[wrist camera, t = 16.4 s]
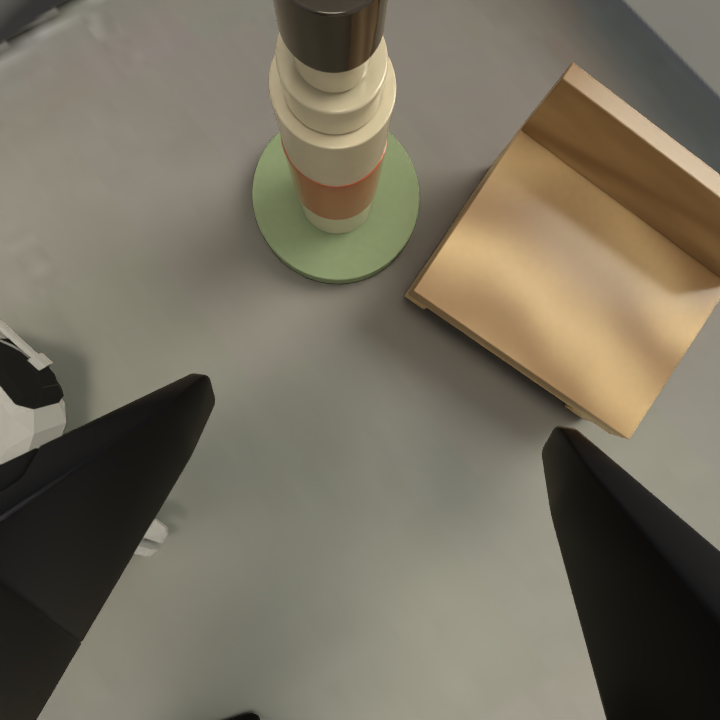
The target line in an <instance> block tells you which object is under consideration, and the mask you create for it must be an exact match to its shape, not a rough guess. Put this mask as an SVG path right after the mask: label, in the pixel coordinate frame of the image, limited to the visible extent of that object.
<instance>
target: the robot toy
mask: <svg viewBox="0 0 720 720" xmlns="http://www.w3.org/2000/svg"><path fill="white" fill-rule="evenodd" d="M0 331H1V332H2V333H3V334H4V335H5V336H7V337H8V338H6V337H4V336H2V335H0V464H3V463H5V462H7V461H9V460H11V459H13V458H16V457H18V456H20V455H22V454H24V453H26V452H28V451H30V450H32V449H34V448H39V447H40V446H41V445H43V444H45V443H47V442H49V441H51V440H53V439H56V438H58V437H60V436H62V433H63V431H64V428H65V425H66V413H65V402H64V401H63V399H62V398H63V396H64V395H63V391H62V388H61V386H60V385H59V383H58V381H57V379H56V377H55V374H54V373H53V372H52V371H51V369H50V368H49V367H48V366H49V365H50V364H52V363H53V362H52V361H51V360H50V359H48V358H47V357H46V356H45V355H44V354H43V353H40V354H38V353H37V352H36V351H35V350H34V349H32V348H31V347H30V346H29V345H28V344H27V343H26V342H25V341H23V340H22V339H21V338H20V337H19V336H18V335H17V334H16V333H15V332H14V331H13V330H11V329H10V328H9V327H8V326H7V325H6V324H5V323H4V322H3V321H2V320H0ZM167 535H168V528H167V526H165V525H164V524H163V523H162V522H161V521H160V520H158V519H154V520H153V522H152V524H151V525H150V527H149V529H148V530H147V532H146V534H145V535H144V537H143V539H142V541H141V542H140V544H139V546H138V547H137V549H136V551H135V552H134V554H137V555H142V556H147V557H148V556H151V555H153V554H155V553H156V552H157V551H158V550H159V548H160V547H161V545H162V542H163V541H164V540H165V538H166V537H167Z"/></svg>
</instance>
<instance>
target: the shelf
mask: <svg viewBox="0 0 720 720" xmlns="http://www.w3.org/2000/svg"><path fill="white" fill-rule="evenodd" d="M405 297H406V298H408V299H409V300H411V301H412V302H413V303H415V304H416V305H418V306H419V307H421V308H422V309H426V308H428V309H429V310H431V311H432V312H434V313H435V314H437V315H438V316H440V317H441V318H443V319H444V320H445V321H447V322H448V323H450V324H451V325H453V326H454V327H456V328H457V329H459V330H460V331H461V332H463V333H464V334H466V335H467V336H469V337H470V338H472V339H473V340H474V341H476V342H477V343H479V344H480V345H482V346H483V347H485V348H486V349H488V350H489V351H490V352H492V353H493V354H495V355H496V356H498V357H499V358H501V359H502V360H503V361H505V362H506V363H508V364H509V365H511V366H512V367H514V368H515V369H517V370H518V371H519V372H521V373H522V374H524V375H525V376H527V377H528V378H530V379H531V380H533V381H534V382H535V383H537V384H538V385H540V386H541V387H543V388H544V389H546V390H547V391H548V392H550V393H551V394H553V395H554V396H556V397H557V398H559V399H560V400H562V401H563V402H564V403H566V405H565V407H566V408H567V409H569V410H570V411H572V412H573V413H575V414H576V415H577V416H579V417H580V418H582V419H585V420H588V421H592V422H593V423H595V424H596V425H598V426H599V427H601V428H602V429H604V430H605V431H607V432H608V433H609V434H612V435H616V436H619V437H622V438H626V439H630V437H631V435H632V434H633V432H634V431H635V429H636V428H637V426H638V425H639V423H640V422H641V420H642V419H643V417H644V415H645V414H646V412H647V411H648V409H649V408H650V406H651V405H652V403H653V402H654V400H655V399H656V397H657V395H658V394H659V392H660V391H661V389H662V388H663V386H664V385H665V383H666V382H667V380H668V379H669V377H670V375H671V374H672V372H673V371H674V369H675V368H676V366H677V365H678V363H679V362H680V360H681V359H682V357H683V355H684V354H685V352H686V351H687V349H688V348H689V346H690V345H691V343H692V342H693V340H694V339H695V337H696V335H697V334H698V332H699V331H700V329H701V328H702V326H703V325H704V323H705V322H706V320H707V319H708V317H709V315H710V314H711V312H712V311H713V309H714V308H715V306H716V305H717V303H718V302H719V300H720V174H718V173H717V172H716V171H715V170H713V169H712V168H711V167H709V166H708V165H707V164H705V163H704V162H703V161H702V160H700V159H699V158H698V157H696V156H695V155H694V154H692V153H691V152H690V151H688V150H687V149H686V148H685V147H683V146H682V145H681V144H679V143H678V142H677V141H675V140H674V139H673V138H671V137H670V136H669V135H668V134H666V133H665V132H664V131H662V130H661V129H660V128H658V127H657V126H656V125H654V124H653V123H652V122H651V121H649V120H648V119H647V118H645V117H644V116H643V115H641V114H640V113H639V112H637V111H636V110H635V109H634V108H632V107H631V106H630V105H628V104H627V103H626V102H624V101H623V100H622V99H620V98H619V97H618V96H617V95H615V94H614V93H613V92H611V91H610V90H609V89H607V88H606V87H605V86H603V85H602V84H601V83H600V82H598V81H597V80H596V79H594V78H593V77H592V76H590V75H589V74H588V73H586V72H585V71H584V70H583V69H581V68H580V67H579V66H577V65H576V64H575V63H572V64H571V65H570V66H569V67H568V69H567V70H566V71H565V72H564V74H563V75H562V76H561V77H560V79H559V80H558V81H557V82H556V84H555V85H554V86H553V87H552V89H551V90H550V91H549V92H548V94H547V95H546V96H545V97H544V99H543V100H542V101H541V102H540V104H539V105H538V106H537V108H536V109H535V110H534V111H533V113H532V114H531V115H530V116H529V118H528V119H527V120H526V121H525V123H524V124H523V125H522V126H521V128H520V129H519V130H518V131H517V133H516V134H515V136H514V137H513V139H512V140H511V141H510V143H509V144H508V145H507V146H506V148H505V149H504V150H503V151H502V153H501V154H500V155H499V156H498V158H497V159H496V160H495V161H494V163H493V164H492V165H491V167H490V168H489V170H488V171H487V173H486V174H485V176H484V177H483V179H482V180H481V182H480V183H479V185H478V186H477V188H476V189H475V191H474V192H473V194H472V195H471V197H470V198H469V200H468V201H467V203H466V204H465V206H464V207H463V209H462V210H461V212H460V213H459V215H458V216H457V218H456V219H455V221H454V222H453V224H452V225H451V227H450V228H449V230H448V231H447V233H446V234H445V235H444V237H443V238H442V240H441V241H440V243H439V244H438V246H437V247H436V249H435V250H434V252H433V253H432V255H431V256H430V258H429V259H428V261H427V262H426V264H425V265H424V267H423V268H422V270H421V271H420V273H419V274H418V276H417V277H416V279H415V280H414V282H413V283H412V285H411V286H410V288H409V289H408V291H407V292H406V294H405Z"/></svg>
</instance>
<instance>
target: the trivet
mask: <svg viewBox="0 0 720 720" xmlns="http://www.w3.org/2000/svg"><path fill="white" fill-rule="evenodd" d="M419 199H420V197H419V186H418V180H417V176H416V173H415V170H414V167H413V164H412V162H411V160H410V158H409V156H408V155H407V153H406V151H405V150H404V148H403V147H402V146H401V144H400V143H399V142H398V141H397V140H396V138H395V137H394V136H392V135H391V134H390V133H389V132H388V141H387V147H386V152H385V156H384V161H383V165H382V170H381V175H380V179H379V184H378V188H377V191H376V194H375V197H374V202H373V206H372V210H371V212H370V214H369V216H368V218H367V219H366V220H365V222H364V223H363V224H362V225H360V226H359V227H358V228H356V229H355V230H352V231H350V232H347V233H342V234H332V233H327V232H324V231H322V230H320V229H318V228H316V227H315V226H313V225H312V224H311V223H310V222H309V221H308V220H307V218H306V217H305V215H304V214H303V212H302V210H301V207H300V203H299V200H298V196H297V194H296V192H295V189H294V186H293V182H292V179H291V175H290V171H289V168H288V164H287V161H286V157H285V154H284V150H283V147H282V142H281V135H280V132H279V133H278V134H277V135H276V136H275V137H274V138H273V139H272V140H271V141H270V142H269V144H268V145H267V147H266V148H265V150H264V151H263V153H262V155H261V157H260V159H259V161H258V164H257V167H256V170H255V174H254V179H253V186H252V201H253V209H254V213H255V218H256V220H257V223H258V226H259V229H260V231H261V233H262V235H263V237H264V238H265V240H266V241H267V243H268V244H269V246H270V247H271V249H272V250H273V252H274V253H275V254H276V255H277V256H278V257H279V258H280V260H282V261H283V262H284V263H285V264H286V265H287V266H288V267H290V268H291V269H293V270H294V271H296V272H297V273H299V274H301V275H303V276H305V277H307V278H310V279H313V280H316V281H320V282H325V283H335V284H341V283H351V282H356V281H360V280H363V279H366V278H369V277H371V276H373V275H375V274H377V273H378V272H380V271H381V270H383V269H384V268H386V267H387V266H388V265H389V264H390V263H392V262H393V261H394V260H395V258H396V257H397V256H398V255H399V254H400V253H401V251H402V250H403V248H404V247H405V245H406V243H407V242H408V240H409V238H410V236H411V234H412V232H413V230H414V227H415V224H416V221H417V216H418V211H419Z"/></svg>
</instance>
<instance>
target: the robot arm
mask: <svg viewBox="0 0 720 720" xmlns="http://www.w3.org/2000/svg"><path fill="white" fill-rule="evenodd" d="M214 404H215V397H214V393H213V389H212V385H211V381H210V378H209V377H208V376H206V375H202V374H190V375H188V376H186V377H184V378H181V379H179V380H177V381H175V382H173V383H171V384H169V385H167V386H165V387H163V388H160V389H158V390H156V391H154V392H152V393H150V394H148V395H146V396H144V397H142V398H140V399H137V400H135V401H133V402H131V403H129V404H127V405H125V406H123V407H121V408H119V409H116V410H114V411H112V412H110V413H108V414H106V415H104V416H102V417H100V418H98V419H95V420H93V421H91V422H89V423H87V424H85V425H83V426H81V427H79V428H77V429H74V430H72V431H70V432H68V433H66V434H64V435H62V436H60V437H58V438H56V439H53V440H51V441H49V442H47V443H45V444H43V445H41V446H40V447H39V448H34V449H32V450H30V451H28V452H26V453H24V454H22V455H20V456H18V457H16V458H13V459H11V460H9V461H7V462H5V463H3V464H0V720H36V719H37V718H38V716H39V714H40V713H41V711H42V709H43V707H44V706H45V704H46V702H47V701H48V699H49V697H50V696H51V694H52V692H53V691H54V689H55V687H56V685H57V684H58V682H59V680H60V679H61V677H62V675H63V674H64V672H65V670H66V668H67V667H68V665H69V663H70V662H71V660H72V658H73V657H74V655H75V653H76V651H77V650H78V648H79V646H80V645H81V641H82V640H83V639H84V637H85V636H86V634H87V632H88V631H89V629H90V627H91V625H92V624H93V622H94V620H95V619H96V617H97V615H98V614H99V612H100V610H101V608H102V607H103V605H104V603H105V602H106V600H107V598H108V597H109V595H110V593H111V591H112V590H113V588H114V586H115V585H116V583H117V581H118V580H119V578H120V576H121V575H122V573H123V571H124V569H125V568H126V566H127V564H128V563H129V561H130V559H131V558H132V556H133V554H134V552H135V551H136V549H137V547H138V546H139V544H140V542H141V541H142V539H143V537H144V535H145V534H146V532H147V530H148V529H149V527H150V525H151V524H152V522H153V520H154V518H155V517H156V515H157V513H158V512H159V510H160V508H161V507H162V505H163V503H164V501H165V500H166V498H167V496H168V495H169V493H170V491H171V490H172V488H173V486H174V484H175V483H176V481H177V479H178V478H179V476H180V474H181V473H182V471H183V469H184V468H185V466H186V464H187V462H188V461H189V459H190V457H191V455H192V453H193V451H194V449H195V447H196V445H197V443H198V440H199V438H200V436H201V434H202V432H203V429H204V427H205V425H206V423H207V420H208V418H209V416H210V414H211V412H212V409H213V407H214ZM542 459H543V466H544V473H545V479H546V486H547V492H548V499H549V505H550V511H551V516H552V520H553V524H554V528H555V531H556V535H557V539H558V542H559V546H560V550H561V554H562V557H563V561H564V565H565V568H566V572H567V576H568V579H569V583H570V587H571V590H572V594H573V598H574V601H575V605H576V609H577V613H578V616H579V620H580V624H581V627H582V631H583V635H584V638H585V642H586V646H587V649H588V653H589V657H590V660H591V664H592V668H593V671H594V675H595V679H596V683H597V686H598V690H599V694H600V697H601V701H602V705H603V708H604V712H605V716H606V719H607V720H720V551H719V550H718V549H716V548H715V547H714V546H713V545H712V544H710V543H709V542H708V541H707V540H706V539H705V538H703V537H702V536H701V535H700V534H699V533H698V532H696V531H695V530H694V529H693V528H692V527H691V526H689V525H688V524H687V523H686V522H685V521H683V520H682V519H681V518H680V517H679V516H678V515H676V514H675V513H674V512H673V511H672V510H671V509H669V508H668V507H667V506H666V505H665V504H664V503H662V502H661V501H660V500H659V499H658V498H656V497H655V496H654V495H653V494H652V493H651V492H649V491H648V490H647V489H646V488H645V487H644V486H642V485H641V484H640V483H639V482H638V481H637V480H635V479H634V478H633V477H632V476H631V475H630V474H628V473H627V472H626V471H625V470H624V469H622V468H621V467H620V466H619V465H618V464H617V463H615V462H614V461H613V460H612V459H611V458H610V457H608V456H607V455H606V454H605V453H604V452H603V451H601V450H600V449H599V448H598V447H597V446H595V445H594V444H593V443H592V442H591V441H590V440H588V439H587V438H586V437H585V436H584V435H583V434H581V433H580V432H579V431H578V430H576V429H574V428H569V427H562V426H557V427H556V428H554V430H553V431H552V433H551V435H550V437H549V438H548V440H547V442H546V443H545V445H544V447H543V450H542ZM231 720H260V718H259V716H258V715H256V714H254V713H251V714H247V715H244V716H240V717H237V718H234V719H231Z"/></svg>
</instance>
